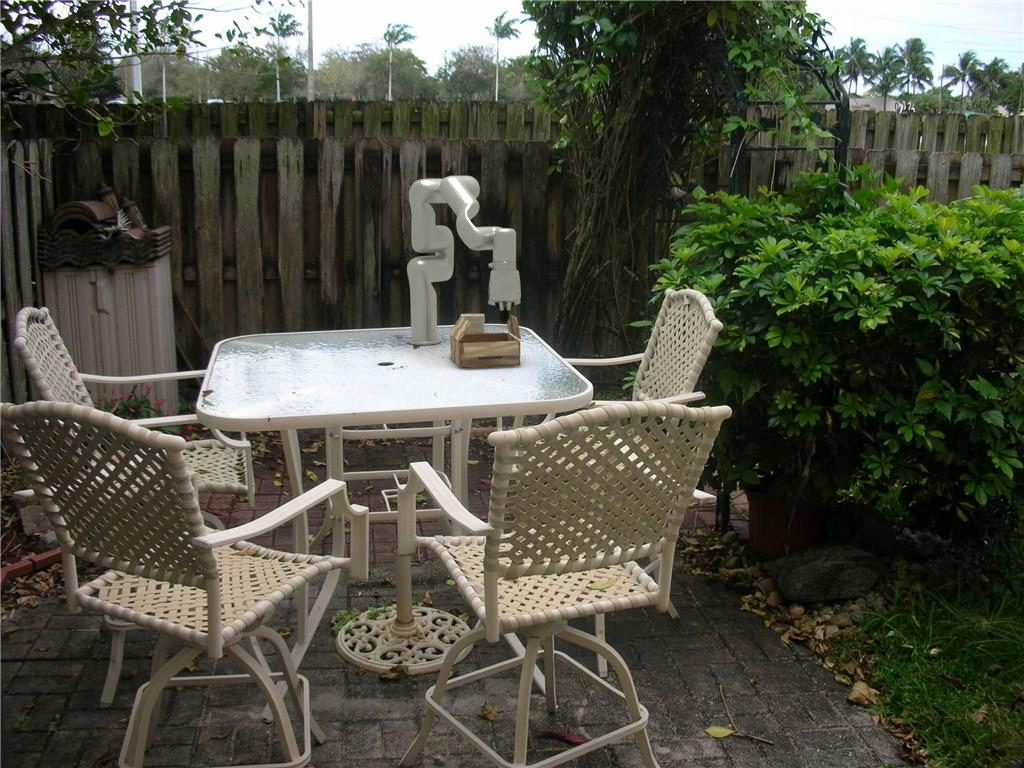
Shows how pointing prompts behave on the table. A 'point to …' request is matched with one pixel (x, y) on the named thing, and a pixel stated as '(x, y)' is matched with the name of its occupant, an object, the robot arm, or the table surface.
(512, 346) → the flap
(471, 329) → the supplement box
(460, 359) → the wooden crate
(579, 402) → the table surface
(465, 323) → the flap
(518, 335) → the flap
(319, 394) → the table surface
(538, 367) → the table surface
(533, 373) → the table surface
